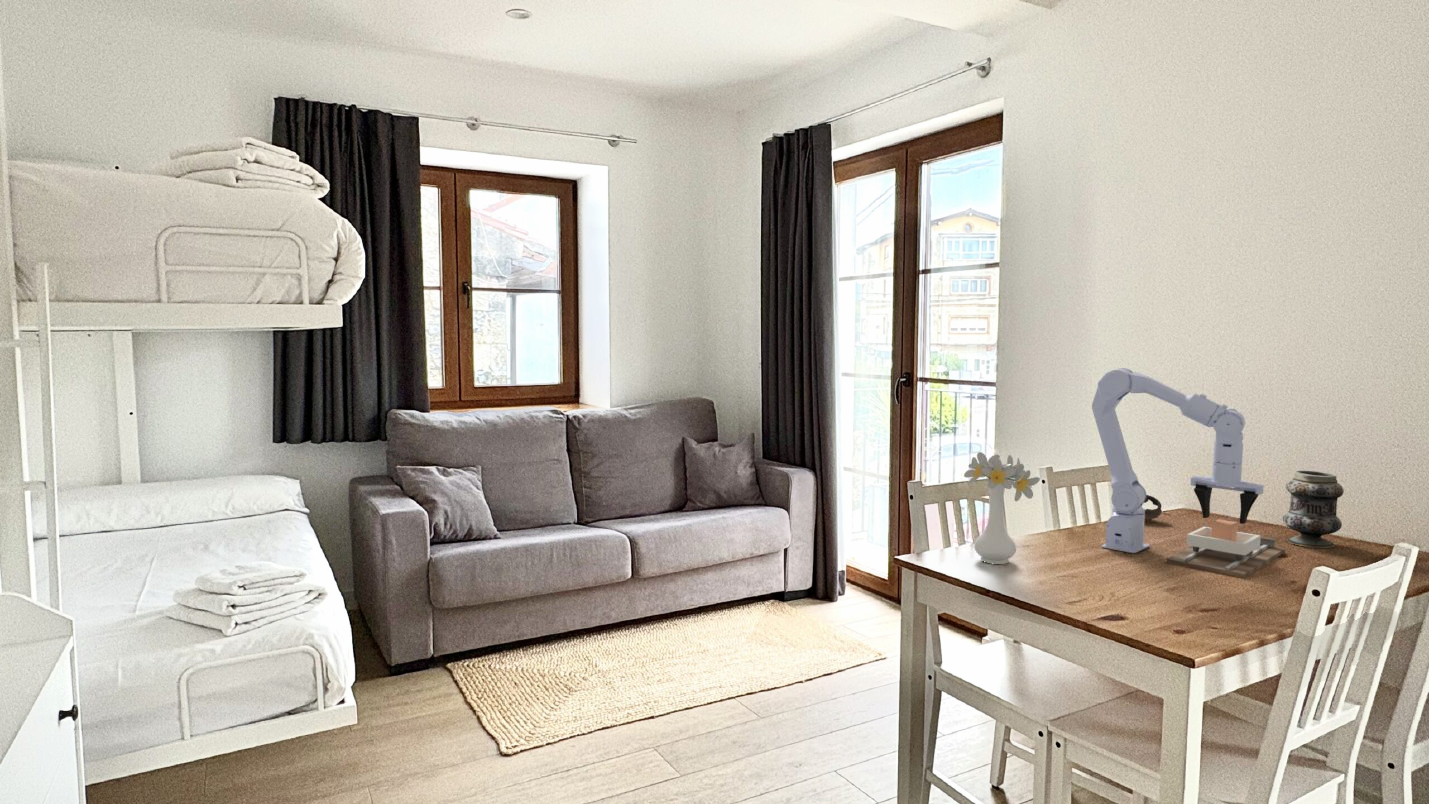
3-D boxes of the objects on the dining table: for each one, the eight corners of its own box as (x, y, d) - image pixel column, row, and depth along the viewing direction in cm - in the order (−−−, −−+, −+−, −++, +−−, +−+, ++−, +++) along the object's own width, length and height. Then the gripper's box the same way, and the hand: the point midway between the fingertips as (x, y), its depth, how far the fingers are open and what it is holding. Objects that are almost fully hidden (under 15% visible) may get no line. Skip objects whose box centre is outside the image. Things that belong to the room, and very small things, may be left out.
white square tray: (1244, 562, 190) (1245, 544, 189) (1186, 551, 198) (1187, 534, 198) (1259, 553, 197) (1260, 535, 197) (1202, 543, 206) (1203, 526, 205)
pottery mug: (1156, 518, 242) (1165, 497, 237) (1153, 539, 235) (1163, 517, 230) (1111, 504, 246) (1120, 483, 242) (1107, 524, 239) (1116, 503, 235)
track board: (1244, 578, 184) (1245, 564, 184) (1166, 563, 196) (1166, 550, 195) (1284, 552, 204) (1285, 540, 204) (1211, 540, 216) (1211, 528, 215)
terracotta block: (1230, 546, 195) (1231, 524, 194) (1211, 543, 198) (1212, 521, 197) (1236, 543, 197) (1237, 522, 197) (1217, 540, 200) (1218, 519, 200)
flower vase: (1014, 576, 186) (1017, 463, 184) (948, 557, 201) (950, 453, 199) (1050, 566, 194) (1053, 458, 191) (983, 548, 209) (986, 448, 206)
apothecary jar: (1351, 547, 208) (1356, 474, 207) (1319, 552, 204) (1323, 478, 202) (1302, 535, 220) (1306, 467, 218) (1270, 540, 215) (1274, 470, 214)
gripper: (1269, 464, 193) (1265, 522, 194) (1199, 456, 204) (1196, 512, 205) (1259, 467, 188) (1255, 527, 190) (1188, 460, 199) (1185, 516, 200)
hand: (1224, 520), depth 197 cm, fingers open, 7 cm apart
